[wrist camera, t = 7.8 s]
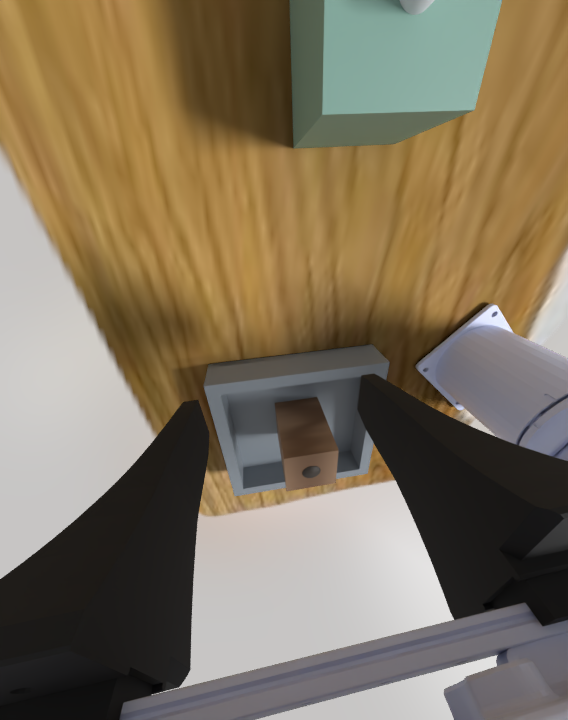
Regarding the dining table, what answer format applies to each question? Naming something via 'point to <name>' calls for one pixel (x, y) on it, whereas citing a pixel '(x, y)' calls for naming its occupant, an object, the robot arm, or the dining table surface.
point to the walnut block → (305, 444)
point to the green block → (384, 67)
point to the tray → (286, 383)
